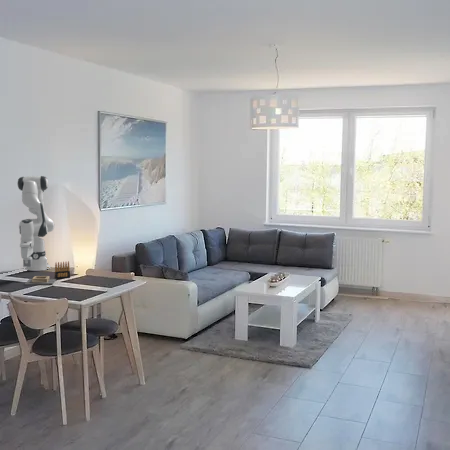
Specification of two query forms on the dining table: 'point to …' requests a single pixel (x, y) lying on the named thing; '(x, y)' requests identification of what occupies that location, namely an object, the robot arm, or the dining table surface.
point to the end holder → (40, 280)
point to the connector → (28, 262)
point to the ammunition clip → (62, 270)
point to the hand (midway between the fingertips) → (27, 262)
